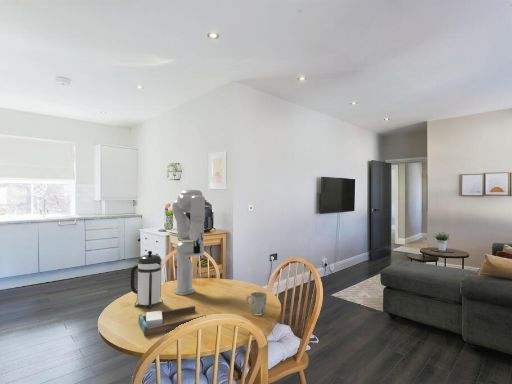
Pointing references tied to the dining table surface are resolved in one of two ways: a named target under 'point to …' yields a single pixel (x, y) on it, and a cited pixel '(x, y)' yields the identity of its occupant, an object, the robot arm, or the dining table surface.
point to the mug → (257, 302)
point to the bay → (167, 326)
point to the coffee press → (147, 279)
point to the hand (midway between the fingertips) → (196, 253)
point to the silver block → (153, 318)
